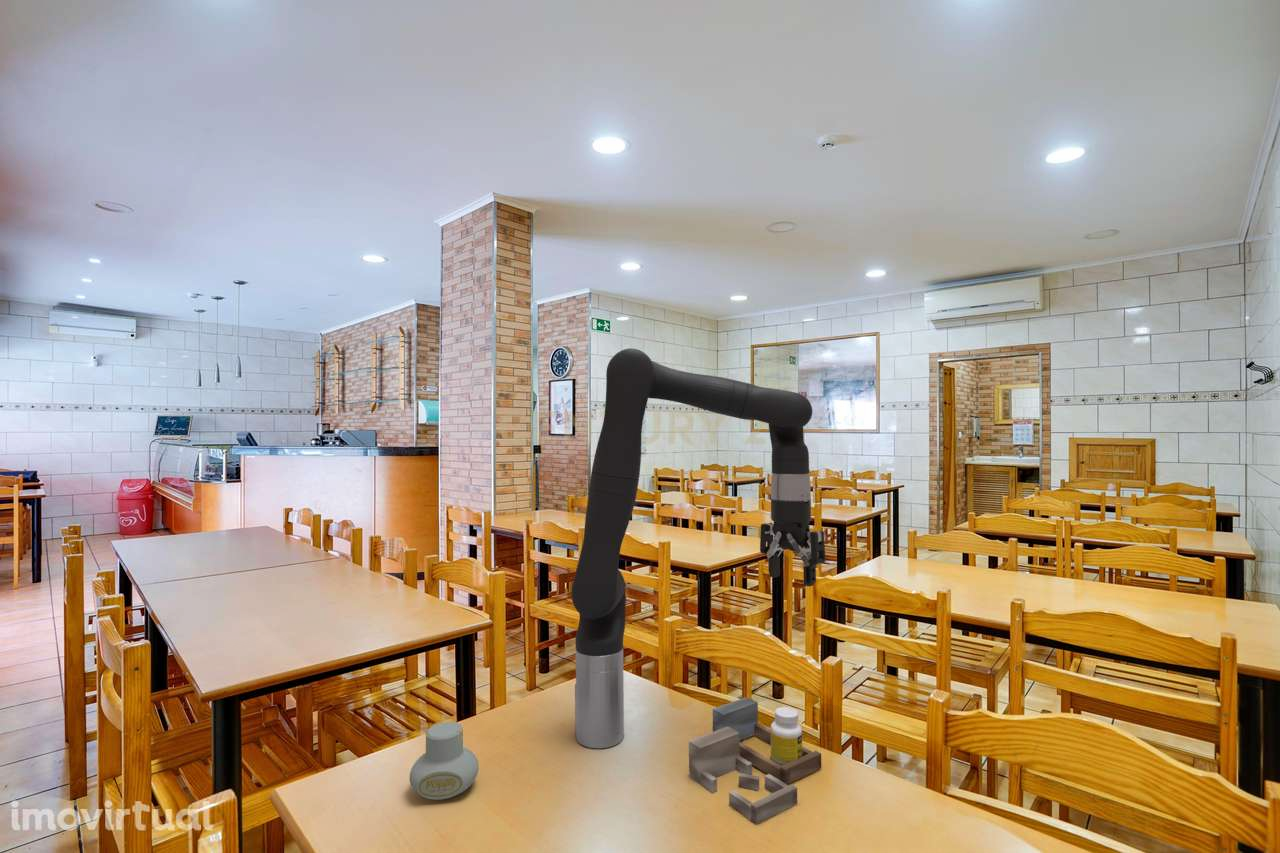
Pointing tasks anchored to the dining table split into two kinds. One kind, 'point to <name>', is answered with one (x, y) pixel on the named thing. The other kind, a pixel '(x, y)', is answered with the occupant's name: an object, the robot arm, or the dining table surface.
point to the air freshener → (444, 764)
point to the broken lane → (723, 756)
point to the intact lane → (746, 723)
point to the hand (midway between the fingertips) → (791, 581)
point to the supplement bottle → (786, 736)
